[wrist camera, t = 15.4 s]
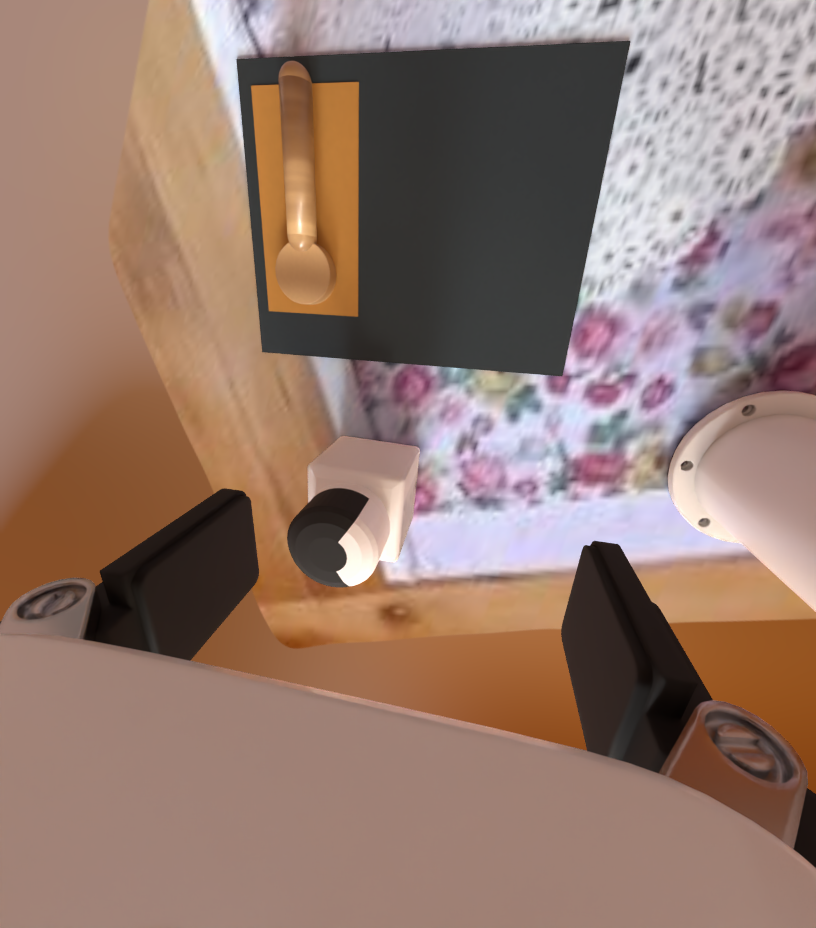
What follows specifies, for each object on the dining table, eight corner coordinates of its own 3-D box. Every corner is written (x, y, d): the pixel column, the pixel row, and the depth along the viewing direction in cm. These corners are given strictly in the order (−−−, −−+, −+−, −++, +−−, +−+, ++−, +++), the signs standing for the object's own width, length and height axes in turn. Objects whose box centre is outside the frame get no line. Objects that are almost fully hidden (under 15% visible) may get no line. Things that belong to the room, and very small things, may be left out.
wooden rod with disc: (271, 73, 27) (253, 54, 25) (333, 70, 26) (320, 51, 24) (285, 303, 33) (272, 302, 31) (337, 306, 32) (327, 305, 30)
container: (339, 505, 39) (275, 589, 28) (340, 433, 36) (270, 493, 25) (413, 518, 38) (380, 611, 26) (421, 445, 35) (388, 514, 23)
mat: (629, 42, 23) (630, 39, 23) (561, 375, 31) (562, 376, 31) (238, 60, 27) (235, 58, 27) (263, 351, 35) (261, 352, 35)
